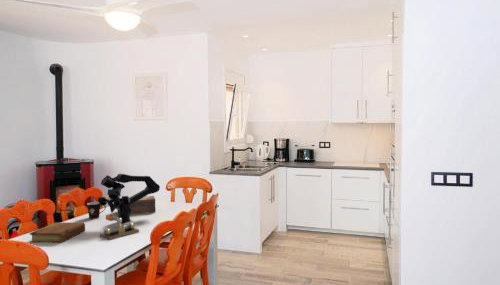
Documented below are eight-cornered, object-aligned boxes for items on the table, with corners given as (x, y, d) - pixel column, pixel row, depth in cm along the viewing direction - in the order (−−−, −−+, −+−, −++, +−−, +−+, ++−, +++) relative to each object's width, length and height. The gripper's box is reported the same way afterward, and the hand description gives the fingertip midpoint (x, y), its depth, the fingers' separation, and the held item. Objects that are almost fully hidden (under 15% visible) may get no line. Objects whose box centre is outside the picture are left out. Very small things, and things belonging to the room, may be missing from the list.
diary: (62, 244, 202) (62, 233, 202) (30, 243, 204) (29, 233, 203) (85, 231, 225) (84, 222, 224) (56, 231, 226) (55, 222, 226)
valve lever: (109, 218, 226) (109, 214, 226) (122, 222, 216) (122, 217, 216) (105, 219, 224) (105, 215, 224) (118, 223, 214) (118, 218, 214)
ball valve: (129, 229, 227) (129, 218, 227) (139, 232, 220) (138, 220, 220) (100, 236, 212) (99, 224, 212) (109, 239, 206) (108, 227, 206)
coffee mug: (84, 218, 257) (84, 204, 256) (94, 215, 265) (93, 201, 264) (97, 219, 252) (97, 205, 252) (106, 216, 260) (106, 202, 260)
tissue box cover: (153, 208, 287) (153, 195, 286) (155, 212, 273) (155, 198, 273) (118, 211, 278) (118, 198, 278) (118, 215, 264) (117, 201, 264)
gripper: (97, 184, 234) (92, 205, 224) (127, 183, 235) (123, 204, 224) (102, 194, 242) (97, 215, 232) (131, 193, 243) (128, 214, 233)
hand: (111, 212), depth 230 cm, fingers closed
